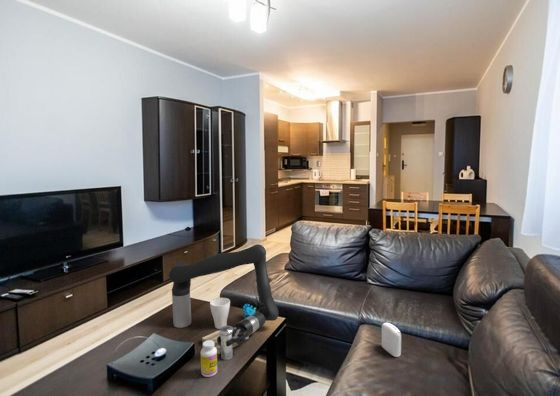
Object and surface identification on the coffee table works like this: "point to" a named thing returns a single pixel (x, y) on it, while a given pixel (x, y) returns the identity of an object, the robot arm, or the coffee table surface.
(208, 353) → the supplement bottle
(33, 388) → the coffee table surface
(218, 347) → the jig
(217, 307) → the cup
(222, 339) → the salt shaker
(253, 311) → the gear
